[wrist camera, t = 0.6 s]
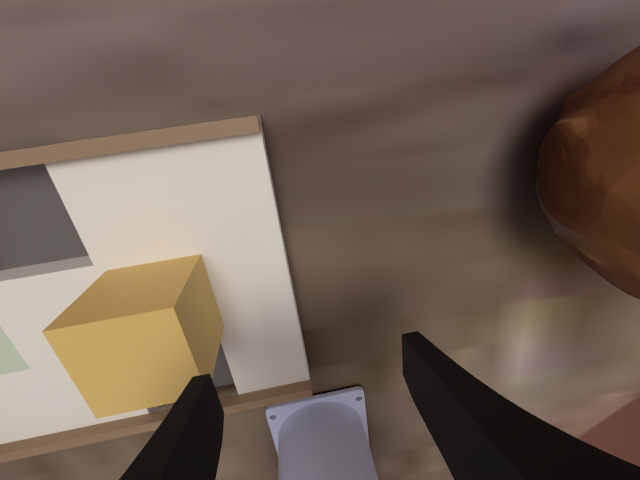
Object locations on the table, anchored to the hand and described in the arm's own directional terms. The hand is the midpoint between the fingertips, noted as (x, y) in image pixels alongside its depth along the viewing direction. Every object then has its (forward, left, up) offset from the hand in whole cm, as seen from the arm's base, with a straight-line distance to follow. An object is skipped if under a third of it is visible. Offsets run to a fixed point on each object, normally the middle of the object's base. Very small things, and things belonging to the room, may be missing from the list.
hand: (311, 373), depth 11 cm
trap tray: (0, +11, -9) cm, 15 cm away
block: (0, +7, -7) cm, 11 cm away
